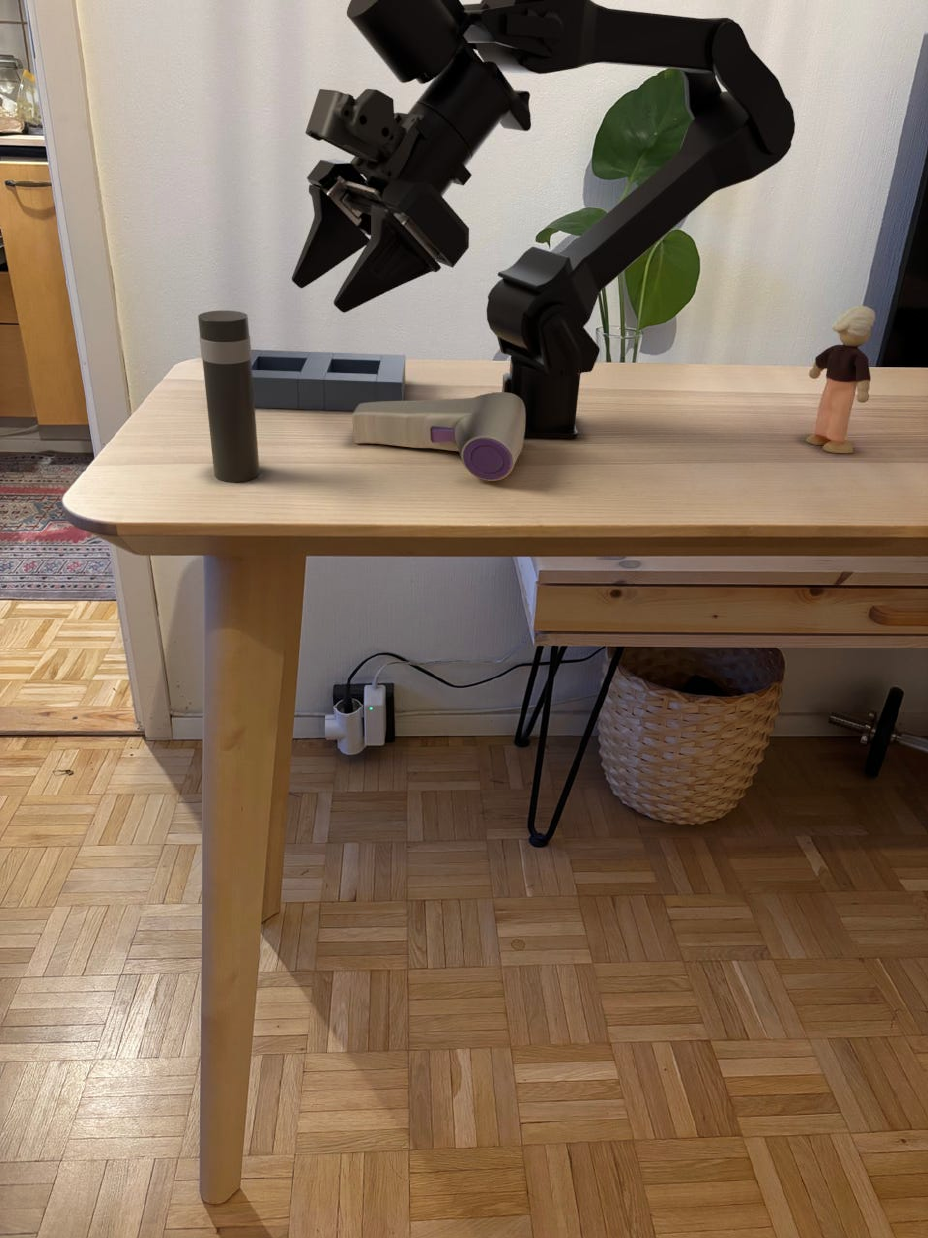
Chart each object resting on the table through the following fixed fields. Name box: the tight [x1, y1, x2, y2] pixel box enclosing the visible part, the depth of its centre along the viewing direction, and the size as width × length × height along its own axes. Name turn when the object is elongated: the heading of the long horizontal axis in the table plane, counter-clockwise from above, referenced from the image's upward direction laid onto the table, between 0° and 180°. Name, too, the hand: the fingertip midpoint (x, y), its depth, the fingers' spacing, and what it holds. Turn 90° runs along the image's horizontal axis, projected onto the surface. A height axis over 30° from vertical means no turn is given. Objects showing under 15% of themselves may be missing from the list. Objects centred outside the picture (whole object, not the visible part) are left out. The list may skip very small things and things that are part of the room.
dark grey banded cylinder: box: [197, 310, 261, 483], centre depth 72 cm, size 4×4×12 cm
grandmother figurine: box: [806, 305, 876, 454], centre depth 84 cm, size 8×4×13 cm, turn 31°
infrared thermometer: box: [351, 391, 526, 482], centre depth 79 cm, size 5×12×15 cm
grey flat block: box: [251, 349, 406, 412], centre depth 93 cm, size 18×10×3 cm, turn 91°
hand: (316, 295), depth 72 cm, fingers open, 9 cm apart
